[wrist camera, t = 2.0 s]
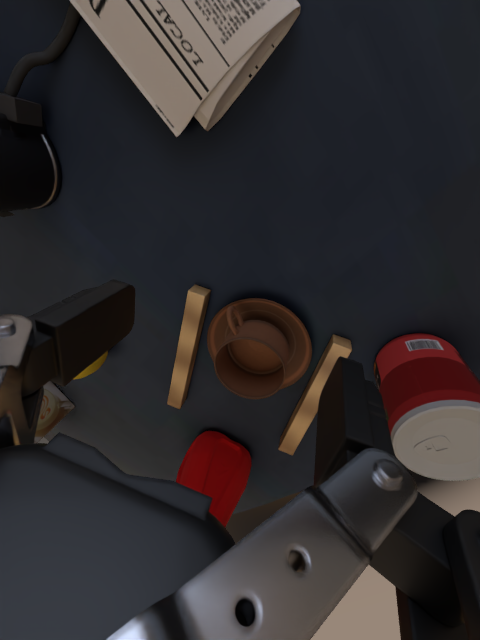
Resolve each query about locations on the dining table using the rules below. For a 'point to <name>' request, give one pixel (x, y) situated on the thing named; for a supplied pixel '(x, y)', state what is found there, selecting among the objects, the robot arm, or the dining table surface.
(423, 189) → the dining table surface
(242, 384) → the cup and saucer
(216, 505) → the water bottle
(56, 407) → the coffee box
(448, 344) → the canned food
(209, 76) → the newspaper
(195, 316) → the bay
